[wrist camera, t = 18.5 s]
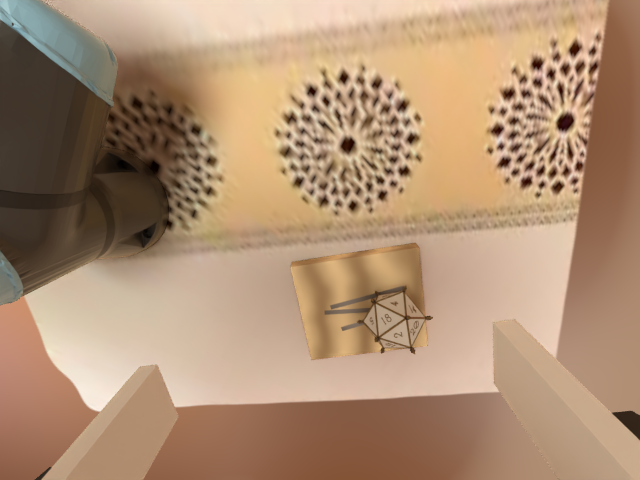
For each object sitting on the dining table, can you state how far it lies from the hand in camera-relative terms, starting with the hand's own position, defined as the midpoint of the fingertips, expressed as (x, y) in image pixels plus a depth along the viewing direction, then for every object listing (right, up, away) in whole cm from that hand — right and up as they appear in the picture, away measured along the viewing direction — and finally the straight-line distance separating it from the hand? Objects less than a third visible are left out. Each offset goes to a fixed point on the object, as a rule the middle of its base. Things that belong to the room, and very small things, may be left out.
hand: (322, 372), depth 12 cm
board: (+6, -4, +34) cm, 35 cm away
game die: (+10, -4, +32) cm, 34 cm away
